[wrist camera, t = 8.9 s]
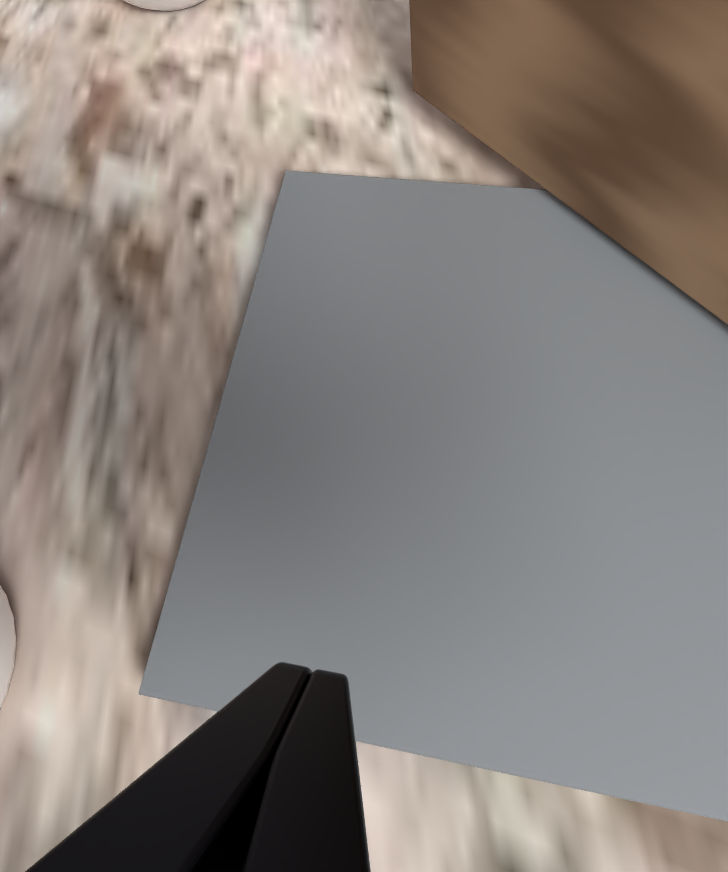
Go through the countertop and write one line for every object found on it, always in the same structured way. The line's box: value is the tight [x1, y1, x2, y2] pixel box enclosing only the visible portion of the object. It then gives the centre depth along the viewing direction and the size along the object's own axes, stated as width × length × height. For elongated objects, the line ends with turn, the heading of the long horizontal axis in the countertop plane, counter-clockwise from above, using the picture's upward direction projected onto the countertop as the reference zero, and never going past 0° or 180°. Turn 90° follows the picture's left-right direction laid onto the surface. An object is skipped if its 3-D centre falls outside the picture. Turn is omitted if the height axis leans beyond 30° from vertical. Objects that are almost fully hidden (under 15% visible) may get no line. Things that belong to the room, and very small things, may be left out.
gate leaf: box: [409, 0, 728, 324], centre depth 16 cm, size 15×2×13 cm, turn 41°
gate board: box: [139, 171, 728, 821], centre depth 19 cm, size 26×18×1 cm
